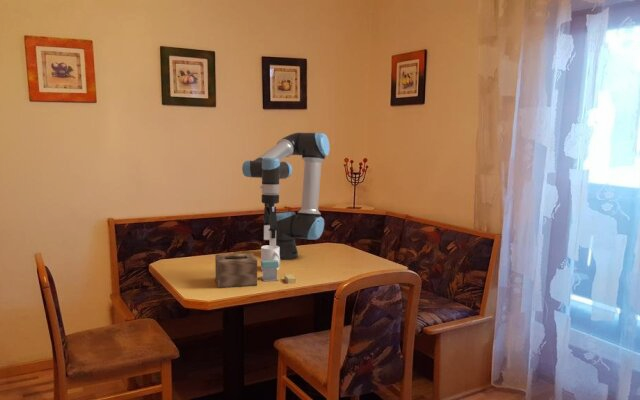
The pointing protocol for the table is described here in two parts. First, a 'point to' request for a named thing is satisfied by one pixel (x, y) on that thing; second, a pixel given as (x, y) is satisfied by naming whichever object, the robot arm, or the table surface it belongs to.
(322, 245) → the table surface
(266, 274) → the stand
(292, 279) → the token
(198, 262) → the table surface
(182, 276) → the table surface
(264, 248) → the white rounded piece
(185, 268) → the table surface
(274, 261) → the teal rectangular block
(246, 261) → the coin box
